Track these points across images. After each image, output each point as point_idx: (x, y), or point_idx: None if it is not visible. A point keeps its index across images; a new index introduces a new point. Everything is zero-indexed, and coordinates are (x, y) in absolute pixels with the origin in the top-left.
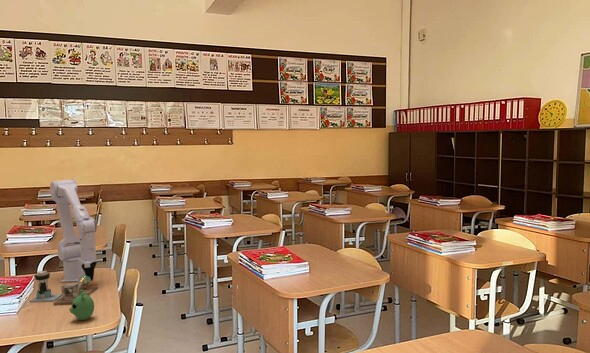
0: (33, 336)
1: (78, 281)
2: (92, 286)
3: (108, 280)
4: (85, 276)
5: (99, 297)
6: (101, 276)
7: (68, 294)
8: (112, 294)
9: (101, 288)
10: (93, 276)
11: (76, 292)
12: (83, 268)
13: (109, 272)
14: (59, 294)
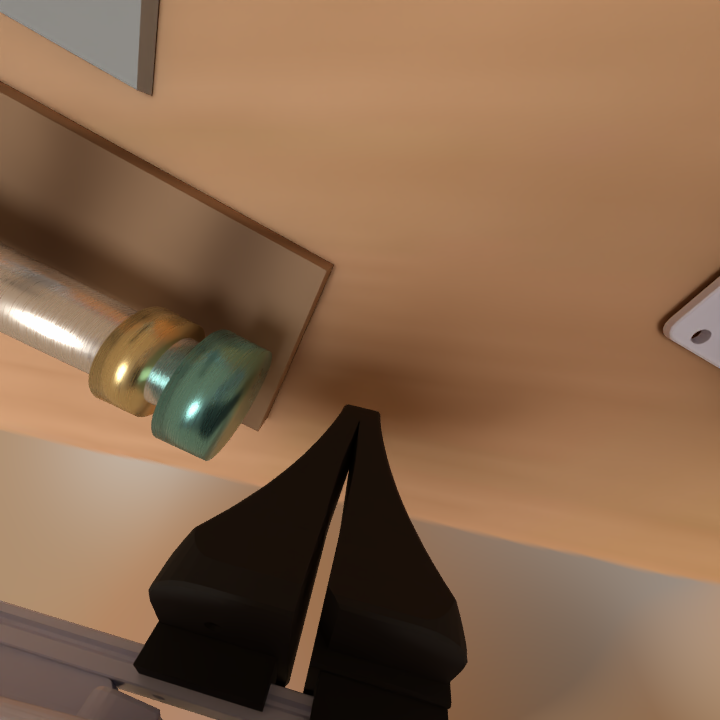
0: None
1: (10, 324)
2: (265, 402)
3: (450, 509)
4: (154, 431)
5: (62, 386)
6: (635, 510)
7: (58, 170)
8: (112, 449)
9: (261, 435)
10: (347, 481)
11: None
12: (210, 528)
13: (708, 571)
14: (121, 44)
